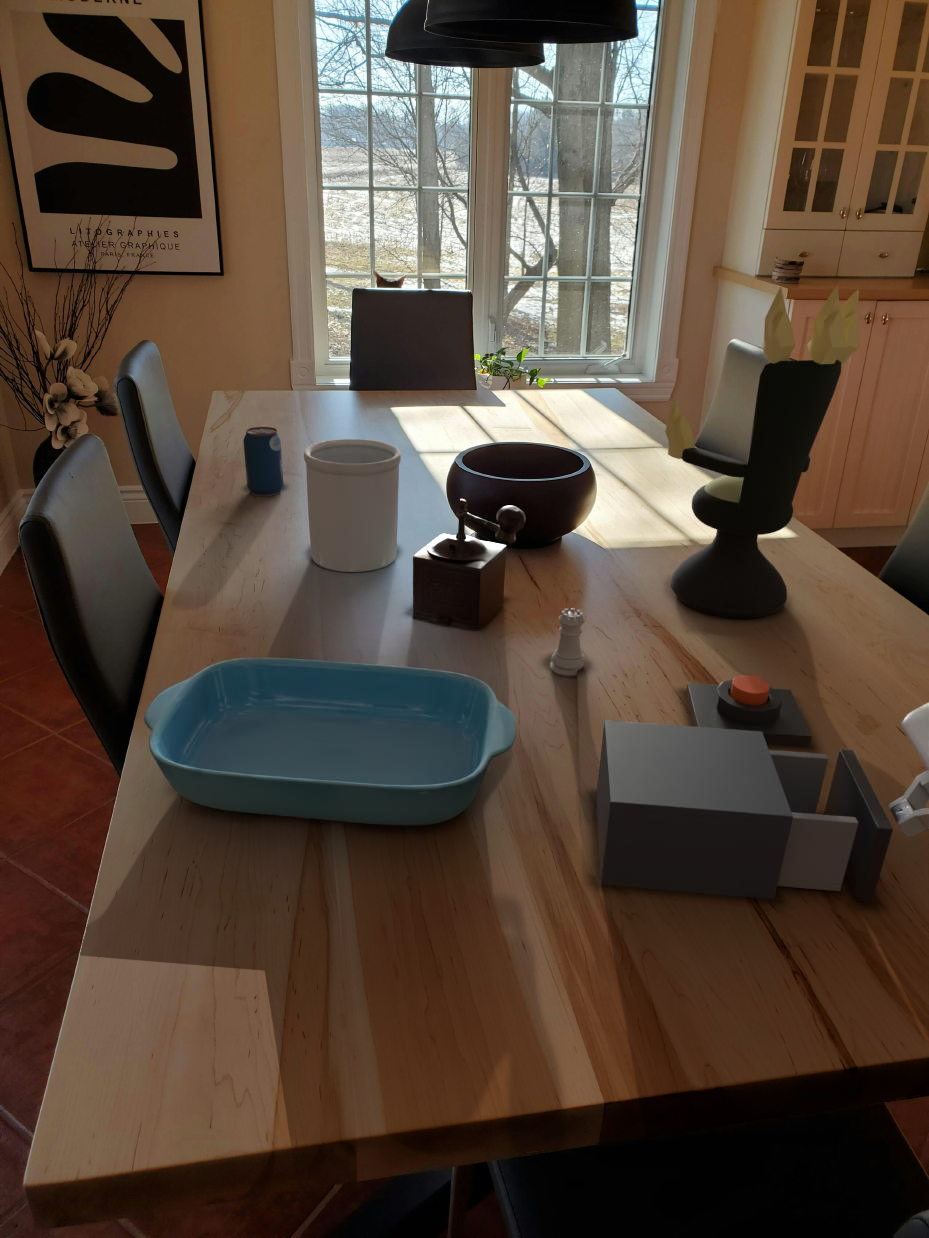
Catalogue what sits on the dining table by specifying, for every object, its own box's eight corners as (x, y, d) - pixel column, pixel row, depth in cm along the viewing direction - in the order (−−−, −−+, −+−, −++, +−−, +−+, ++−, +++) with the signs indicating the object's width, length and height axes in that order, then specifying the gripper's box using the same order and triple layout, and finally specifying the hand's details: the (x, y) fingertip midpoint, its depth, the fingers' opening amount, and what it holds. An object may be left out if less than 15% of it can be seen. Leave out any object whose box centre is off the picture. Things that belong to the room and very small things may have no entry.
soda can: (291, 492, 174) (287, 430, 169) (261, 499, 170) (256, 437, 164) (270, 484, 178) (265, 424, 173) (240, 491, 174) (235, 429, 169)
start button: (763, 689, 103) (765, 676, 102) (770, 708, 99) (773, 694, 98) (727, 687, 103) (729, 674, 102) (733, 705, 99) (735, 691, 99)
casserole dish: (516, 723, 101) (519, 668, 98) (509, 856, 81) (512, 791, 78) (196, 703, 104) (190, 648, 101) (113, 827, 84) (101, 763, 81)
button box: (787, 705, 106) (793, 676, 105) (808, 753, 98) (815, 722, 96) (684, 698, 107) (689, 669, 106) (695, 744, 98) (700, 713, 97)
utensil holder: (386, 536, 154) (385, 435, 146) (413, 568, 141) (413, 459, 134) (301, 545, 149) (295, 441, 141) (320, 579, 137) (315, 467, 129)
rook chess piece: (560, 681, 110) (565, 622, 107) (543, 664, 114) (547, 607, 111) (591, 674, 112) (597, 617, 109) (573, 658, 116) (578, 602, 112)
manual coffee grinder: (407, 620, 125) (407, 496, 117) (439, 591, 134) (441, 474, 126) (513, 642, 119) (520, 514, 112) (538, 610, 129) (547, 489, 121)
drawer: (848, 818, 86) (866, 750, 83) (886, 904, 76) (908, 830, 72) (692, 806, 87) (704, 738, 84) (709, 888, 77) (723, 815, 74)
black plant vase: (748, 568, 145) (801, 270, 125) (839, 628, 126) (919, 287, 106) (643, 580, 139) (681, 270, 120) (722, 644, 120) (783, 288, 101)
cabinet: (745, 814, 88) (762, 731, 84) (772, 907, 76) (793, 816, 72) (595, 802, 89) (604, 719, 85) (600, 891, 78) (610, 801, 73)
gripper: (975, 652, 82) (843, 733, 87) (1094, 785, 64) (917, 879, 69) (1012, 697, 84) (879, 775, 89) (1137, 840, 66) (962, 928, 71)
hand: (897, 821), depth 79 cm, fingers closed
